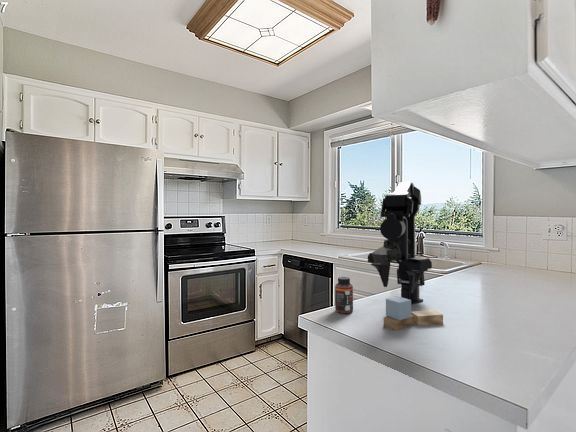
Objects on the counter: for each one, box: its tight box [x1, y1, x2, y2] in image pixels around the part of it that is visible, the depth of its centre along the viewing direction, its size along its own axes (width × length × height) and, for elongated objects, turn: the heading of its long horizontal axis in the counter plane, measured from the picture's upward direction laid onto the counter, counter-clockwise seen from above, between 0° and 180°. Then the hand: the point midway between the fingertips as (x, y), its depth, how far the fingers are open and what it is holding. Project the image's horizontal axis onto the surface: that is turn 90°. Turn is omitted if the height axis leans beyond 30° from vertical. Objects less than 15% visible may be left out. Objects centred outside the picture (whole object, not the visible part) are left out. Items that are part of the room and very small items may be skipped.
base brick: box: [383, 315, 415, 331], centre depth 97 cm, size 8×4×3 cm, turn 122°
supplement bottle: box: [334, 276, 354, 314], centre depth 111 cm, size 6×6×11 cm
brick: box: [411, 309, 444, 326], centre depth 99 cm, size 8×4×3 cm, turn 99°
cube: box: [385, 295, 412, 320], centre depth 97 cm, size 5×5×5 cm
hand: (397, 289), depth 97 cm, fingers open, 9 cm apart
